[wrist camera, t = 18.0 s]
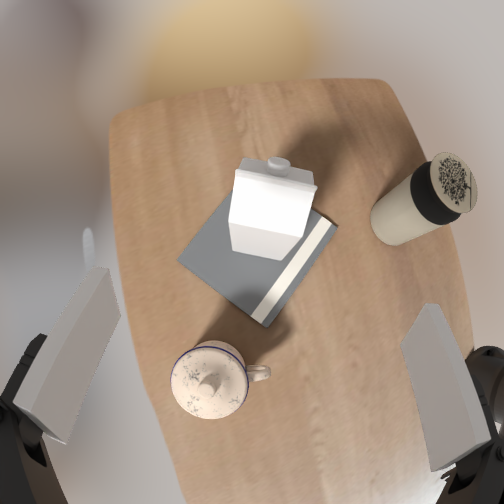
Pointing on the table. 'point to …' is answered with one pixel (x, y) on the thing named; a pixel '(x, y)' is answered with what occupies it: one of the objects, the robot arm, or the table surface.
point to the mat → (253, 264)
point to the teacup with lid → (213, 379)
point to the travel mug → (425, 200)
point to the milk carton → (269, 207)
